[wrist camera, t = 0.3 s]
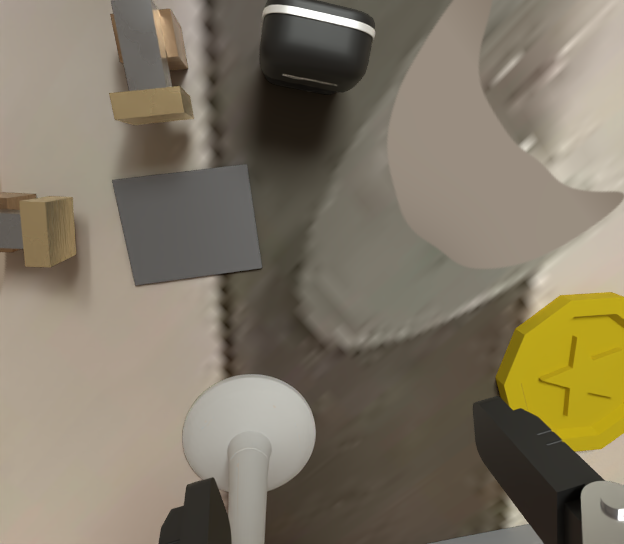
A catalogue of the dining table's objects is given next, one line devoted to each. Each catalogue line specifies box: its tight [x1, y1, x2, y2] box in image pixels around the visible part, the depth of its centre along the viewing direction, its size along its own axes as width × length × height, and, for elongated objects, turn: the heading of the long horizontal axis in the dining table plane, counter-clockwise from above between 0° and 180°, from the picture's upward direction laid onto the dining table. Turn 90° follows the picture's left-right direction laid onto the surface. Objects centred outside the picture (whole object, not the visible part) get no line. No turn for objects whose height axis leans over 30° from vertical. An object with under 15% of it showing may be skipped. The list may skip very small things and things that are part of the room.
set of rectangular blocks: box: [0, 0, 194, 267], centre depth 32 cm, size 8×23×8 cm, turn 137°
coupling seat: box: [112, 164, 262, 285], centre depth 38 cm, size 9×11×1 cm
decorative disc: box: [495, 292, 624, 452], centre depth 45 cm, size 17×18×2 cm
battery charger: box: [259, 0, 375, 95], centre depth 31 cm, size 7×4×11 cm, turn 80°
